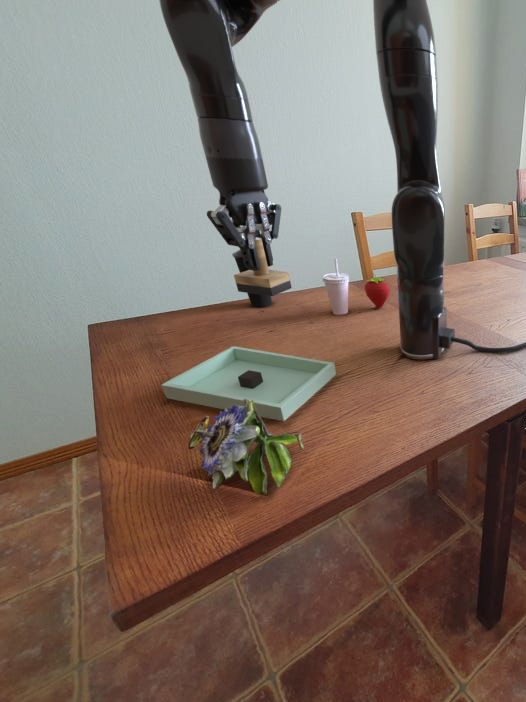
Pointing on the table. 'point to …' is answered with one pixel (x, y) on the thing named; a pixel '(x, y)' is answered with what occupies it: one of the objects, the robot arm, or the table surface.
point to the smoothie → (337, 290)
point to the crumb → (250, 379)
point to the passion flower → (243, 447)
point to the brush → (262, 277)
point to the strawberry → (377, 291)
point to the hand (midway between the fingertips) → (260, 267)
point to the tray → (269, 397)
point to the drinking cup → (255, 299)
